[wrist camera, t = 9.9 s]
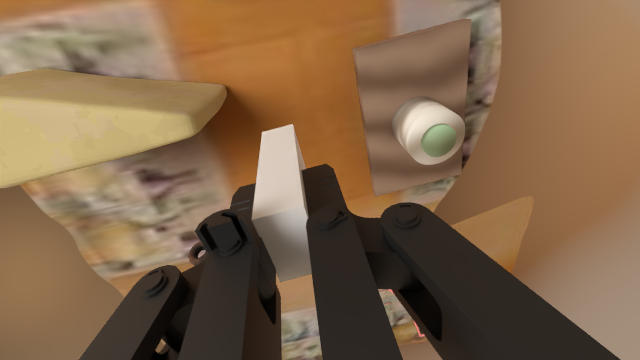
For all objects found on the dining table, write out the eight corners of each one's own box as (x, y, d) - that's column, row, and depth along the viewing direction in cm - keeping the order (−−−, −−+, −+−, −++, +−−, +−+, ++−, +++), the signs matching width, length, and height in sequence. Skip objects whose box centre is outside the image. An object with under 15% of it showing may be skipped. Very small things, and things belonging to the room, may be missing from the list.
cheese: (219, 52, 38) (189, 74, 25) (234, 122, 43) (216, 171, 30) (40, 65, 36) (-92, 96, 23) (78, 136, 41) (-13, 195, 28)
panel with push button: (352, 48, 34) (371, 60, 27) (464, 18, 34) (512, 23, 27) (373, 191, 46) (390, 224, 39) (456, 169, 46) (487, 199, 39)
